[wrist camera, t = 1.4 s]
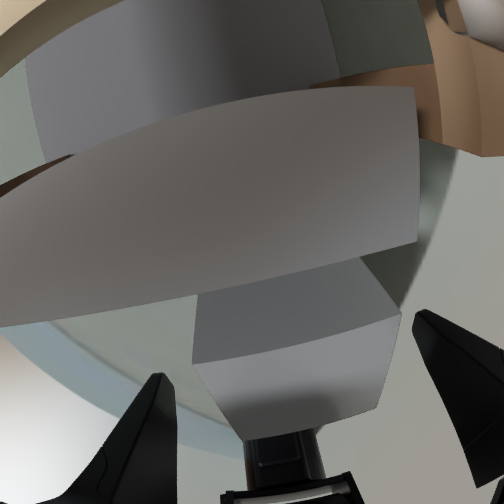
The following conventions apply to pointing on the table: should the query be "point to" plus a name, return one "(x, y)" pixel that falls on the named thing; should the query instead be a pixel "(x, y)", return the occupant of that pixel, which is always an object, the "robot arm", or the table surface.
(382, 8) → the table surface
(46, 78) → the mat
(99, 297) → the trapdoor
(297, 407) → the light grey block
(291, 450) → the robot arm
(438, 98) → the frame
